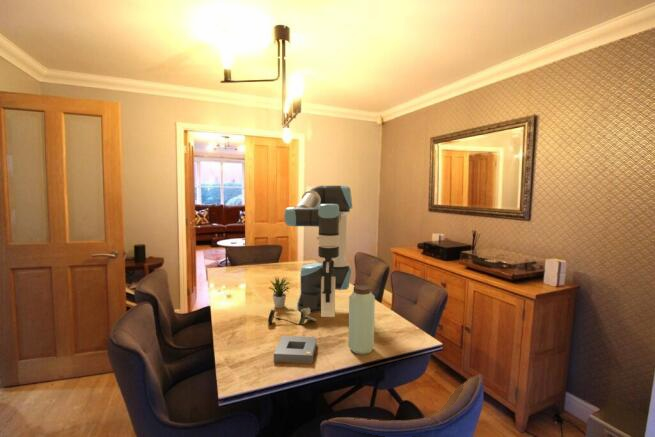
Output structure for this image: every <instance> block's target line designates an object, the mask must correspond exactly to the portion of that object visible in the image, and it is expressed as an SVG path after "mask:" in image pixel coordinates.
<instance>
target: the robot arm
mask: <svg viewBox="0 0 655 437" xmlns="http://www.w3.org/2000/svg"><path fill="white" fill-rule="evenodd" d="M351 209H353V200H352V191H351V187H350V186H348V185H318V186H317V185H316V186H314V187H311V188H310V189H307V190H306V191H305V192H304V193H303V194H302V196H301V200H300V201H299V202H298V203H297V205H295V206H291V207H286V208H285V210H284V215H283V216H284V223H285V225H286V226H288V227H315V228H316V227H318V236H316V239H317V240H318V247H317V248H318V254H317V255H318V257H319V258H321V259H322V258H323V259H324V260H323V262H322V263H321V262H313V263H307V264H305V265H302V266H301V268H300V273H299V276H300V294H299V298H298V301H297V303H296V304H297V308H296V309H297V310H299V311H300V312H301V310H302V309H303V308H309V309H310V310H311V311H310V314H311V313H312V314H313V313H319V312H320V313H321V278H322V276H324V292H322V294H324V311H331V308H332V293H331V292H332V291H331V277H335V291H336V290H337V291H338V290H339V291H341V290H343V291H344V290H346V291H347V290H348V289H349V287H350V282H351V281H350V280H351V275H352V267H350V264H349V262H348V261H347V220H348V219H347V216H348V214H349V213H350V211H351Z"/></svg>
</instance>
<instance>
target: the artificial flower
mask: <svg viewBox="0 0 655 437" xmlns="http://www.w3.org/2000/svg"><path fill="white" fill-rule="evenodd" d="M310 311H311V310H310V309H309V308H303V309H302V310H301V311H300V320H299V322H298V323H297V322H296V323H295V322H293V321H292V320H288V319H284V318H281V317H275V313H276V310H275V309H271V310H270V312H269V315H268V319H267V320H268V321H267V322H268V323H267V324H268V325H272V323H273V321H274V319H276V320H278V321H285V322H289V323H291V324H293V325H297V326H299V325H301V324H304V323H305V321H306V320H307V321H308V320H309V321H311V322H317V321H318V320H317V319H316V318H315V317H311V316H308V315H310V314H311V313H310Z"/></svg>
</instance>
